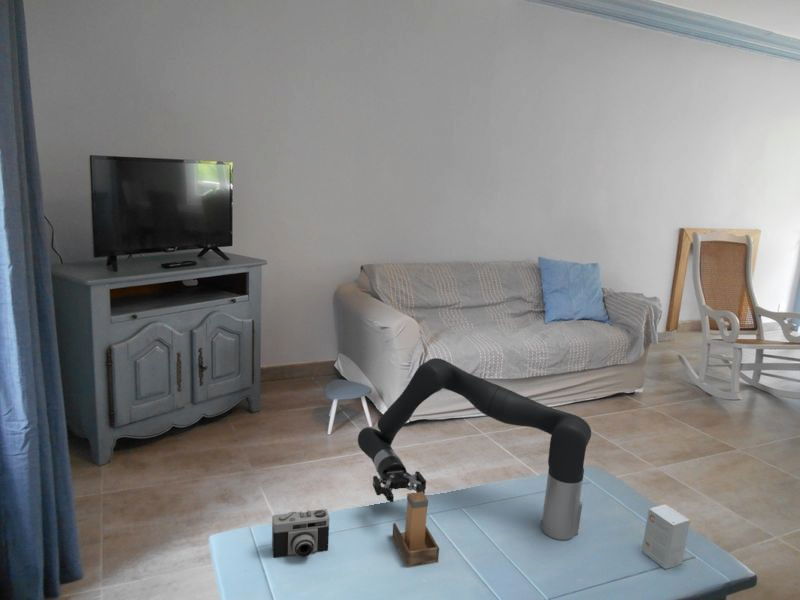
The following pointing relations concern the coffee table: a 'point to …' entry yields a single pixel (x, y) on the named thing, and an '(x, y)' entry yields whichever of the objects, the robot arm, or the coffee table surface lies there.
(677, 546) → the small box
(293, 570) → the coffee table surface
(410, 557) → the walnut box
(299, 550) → the camera
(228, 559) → the coffee table surface
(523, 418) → the robot arm
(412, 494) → the brown tall square block
